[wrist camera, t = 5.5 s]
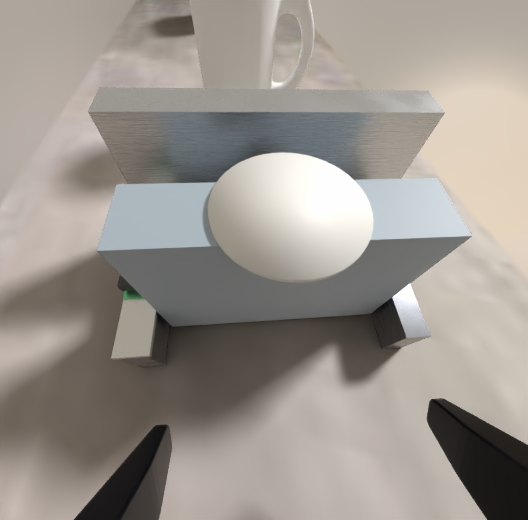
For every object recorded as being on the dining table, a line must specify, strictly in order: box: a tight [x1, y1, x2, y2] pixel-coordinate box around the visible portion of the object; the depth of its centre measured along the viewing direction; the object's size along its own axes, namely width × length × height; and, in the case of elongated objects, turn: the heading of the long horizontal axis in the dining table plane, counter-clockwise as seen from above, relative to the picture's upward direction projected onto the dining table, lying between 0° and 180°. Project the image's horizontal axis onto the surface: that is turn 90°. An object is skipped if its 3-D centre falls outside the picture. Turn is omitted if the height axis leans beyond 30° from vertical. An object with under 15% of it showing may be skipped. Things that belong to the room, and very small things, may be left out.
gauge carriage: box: [97, 152, 472, 327], centre depth 13 cm, size 6×15×9 cm, turn 95°
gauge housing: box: [88, 87, 445, 367], centre depth 14 cm, size 11×17×10 cm, turn 95°
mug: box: [189, 0, 314, 89], centre depth 22 cm, size 10×7×12 cm, turn 95°
